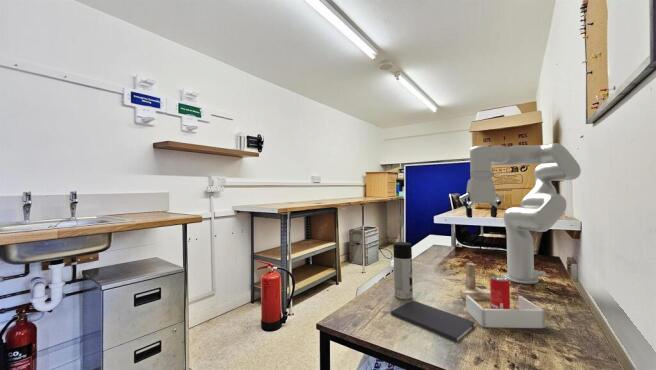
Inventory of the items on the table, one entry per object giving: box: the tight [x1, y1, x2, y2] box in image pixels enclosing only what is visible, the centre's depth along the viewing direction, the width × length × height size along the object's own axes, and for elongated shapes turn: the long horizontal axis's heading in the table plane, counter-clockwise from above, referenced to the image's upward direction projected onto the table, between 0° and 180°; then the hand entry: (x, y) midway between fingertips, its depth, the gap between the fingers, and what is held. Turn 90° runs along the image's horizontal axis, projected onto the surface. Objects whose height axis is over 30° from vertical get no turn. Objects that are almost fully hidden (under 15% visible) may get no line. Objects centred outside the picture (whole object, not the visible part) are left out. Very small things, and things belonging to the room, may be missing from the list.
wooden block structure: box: [460, 262, 491, 301], centre depth 103 cm, size 12×9×11 cm
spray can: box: [393, 241, 414, 301], centre depth 102 cm, size 7×7×20 cm
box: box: [465, 295, 546, 329], centre depth 84 cm, size 18×11×5 cm, turn 87°
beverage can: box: [489, 275, 511, 309], centre depth 86 cm, size 5×5×12 cm
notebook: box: [390, 300, 476, 343], centre depth 84 cm, size 13×2×21 cm
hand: (481, 217), depth 112 cm, fingers open, 9 cm apart
